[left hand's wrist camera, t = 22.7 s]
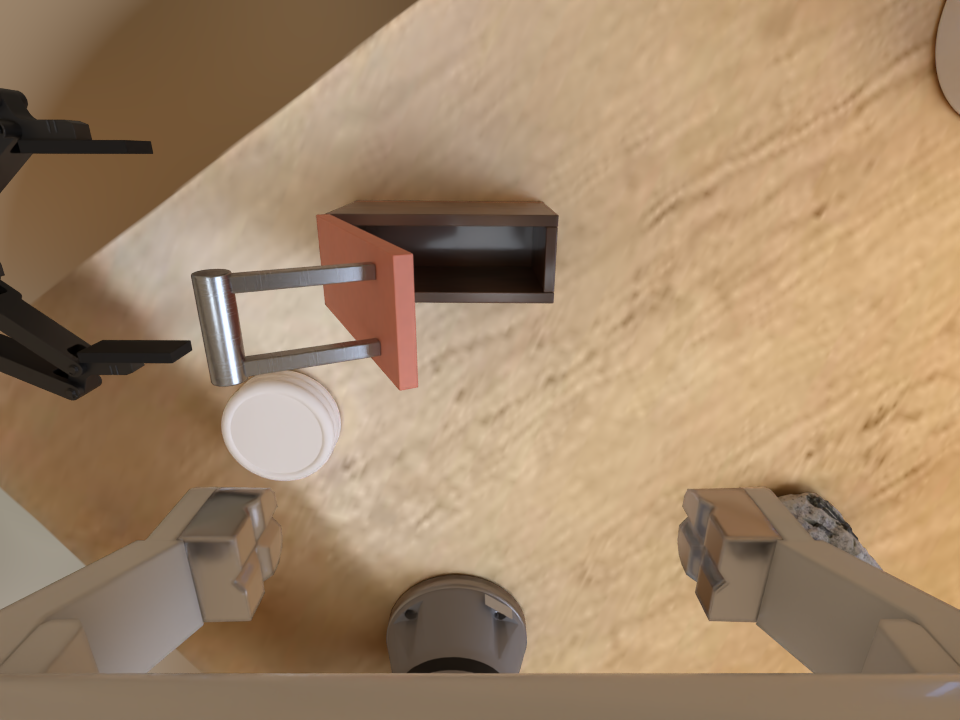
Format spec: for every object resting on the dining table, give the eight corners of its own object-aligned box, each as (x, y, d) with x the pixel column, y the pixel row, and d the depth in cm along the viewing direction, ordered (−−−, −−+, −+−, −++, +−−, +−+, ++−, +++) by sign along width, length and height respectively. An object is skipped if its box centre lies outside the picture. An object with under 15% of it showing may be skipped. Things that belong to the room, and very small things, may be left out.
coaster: (338, 469, 53) (329, 490, 49) (235, 454, 52) (219, 475, 49) (346, 376, 49) (336, 392, 46) (235, 360, 49) (217, 375, 45)
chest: (542, 201, 44) (558, 214, 35) (539, 273, 46) (553, 303, 37) (356, 200, 44) (324, 213, 35) (361, 272, 46) (333, 302, 37)
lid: (413, 253, 22) (187, 271, 18) (418, 387, 24) (217, 426, 20) (329, 214, 35) (188, 220, 31) (338, 303, 37) (206, 318, 33)
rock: (721, 512, 54) (755, 564, 48) (821, 471, 53) (870, 519, 46) (765, 607, 59) (801, 666, 53) (858, 573, 58) (907, 629, 51)
